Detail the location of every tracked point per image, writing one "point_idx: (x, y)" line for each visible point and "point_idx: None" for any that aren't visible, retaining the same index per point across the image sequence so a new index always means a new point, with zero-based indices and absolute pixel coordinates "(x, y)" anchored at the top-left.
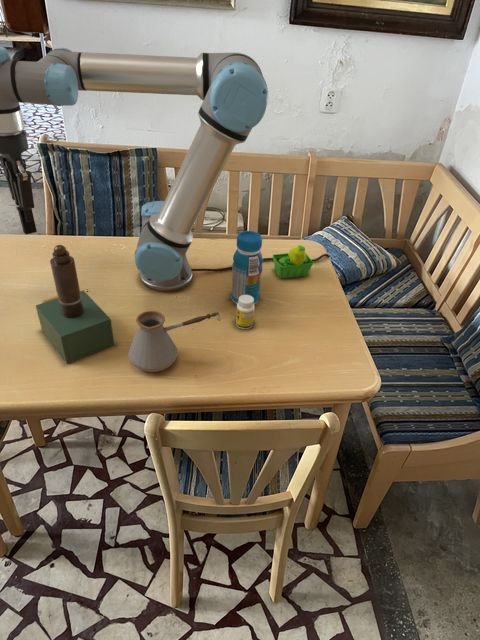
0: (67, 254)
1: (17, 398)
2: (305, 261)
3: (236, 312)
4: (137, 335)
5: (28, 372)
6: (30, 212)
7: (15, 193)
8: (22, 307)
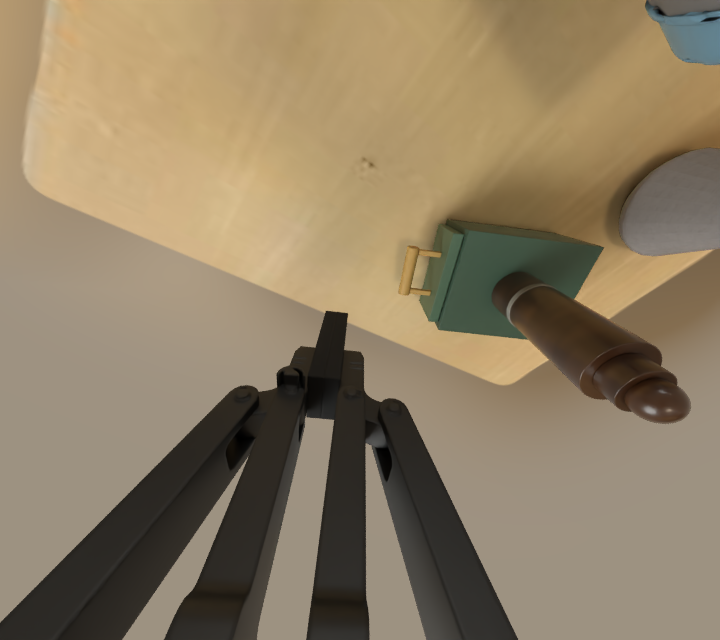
0: (674, 382)
1: (511, 378)
2: None
3: None
4: (713, 245)
5: (485, 353)
6: (363, 382)
7: (291, 479)
8: (342, 294)
